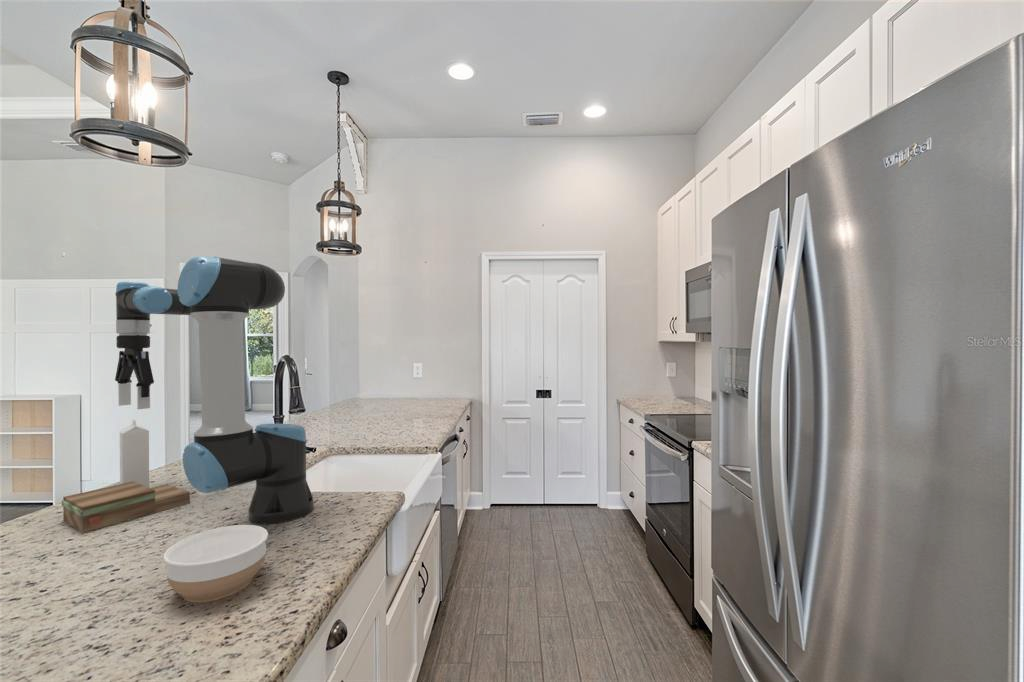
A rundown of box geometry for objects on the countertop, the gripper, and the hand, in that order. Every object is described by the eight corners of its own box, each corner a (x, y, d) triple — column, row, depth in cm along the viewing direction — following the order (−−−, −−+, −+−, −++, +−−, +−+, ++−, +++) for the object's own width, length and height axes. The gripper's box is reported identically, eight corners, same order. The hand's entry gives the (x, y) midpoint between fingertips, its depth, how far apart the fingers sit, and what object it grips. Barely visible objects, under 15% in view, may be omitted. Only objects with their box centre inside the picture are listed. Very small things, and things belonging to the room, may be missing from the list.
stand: (190, 503, 122) (190, 481, 122) (82, 533, 103) (81, 508, 103) (167, 494, 130) (167, 473, 130) (61, 521, 110) (61, 497, 110)
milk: (122, 500, 125) (121, 423, 125) (119, 495, 129) (118, 420, 129) (150, 494, 130) (148, 419, 129) (146, 489, 134) (145, 417, 134)
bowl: (265, 555, 92) (265, 518, 92) (271, 592, 78) (271, 548, 78) (169, 578, 83) (169, 536, 83) (157, 624, 70) (156, 574, 70)
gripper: (167, 334, 126) (168, 408, 126) (132, 335, 139) (132, 402, 139) (135, 334, 120) (135, 412, 120) (101, 335, 133) (101, 405, 133)
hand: (133, 406), depth 129 cm, fingers open, 13 cm apart
